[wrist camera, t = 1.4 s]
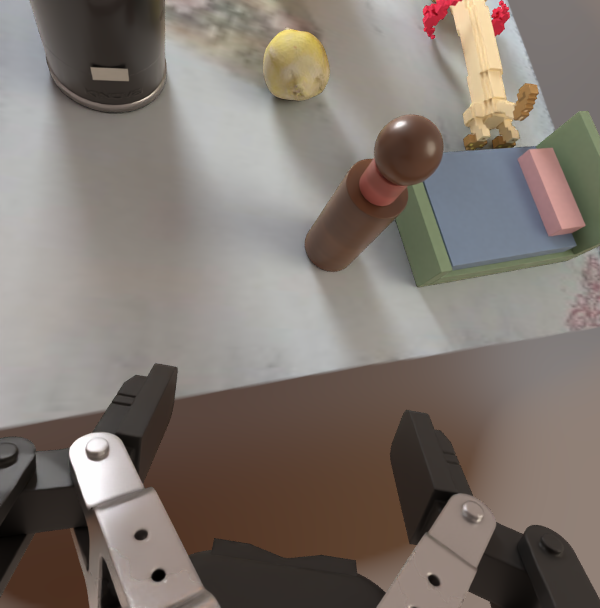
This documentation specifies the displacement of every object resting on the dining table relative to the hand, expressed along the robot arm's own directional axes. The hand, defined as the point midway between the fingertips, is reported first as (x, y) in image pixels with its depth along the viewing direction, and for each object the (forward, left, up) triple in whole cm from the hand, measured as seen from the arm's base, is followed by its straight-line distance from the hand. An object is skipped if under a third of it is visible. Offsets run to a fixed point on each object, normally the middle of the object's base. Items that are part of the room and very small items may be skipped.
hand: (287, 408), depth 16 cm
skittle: (-13, +12, -19) cm, 26 cm away
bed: (-14, +29, -19) cm, 37 cm away
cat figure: (-34, +34, -19) cm, 51 cm away
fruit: (-31, +13, -19) cm, 38 cm away
